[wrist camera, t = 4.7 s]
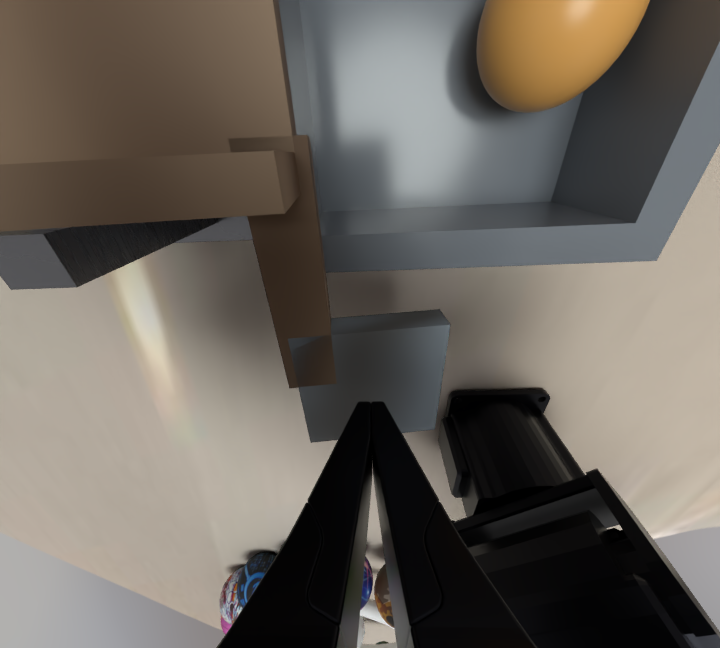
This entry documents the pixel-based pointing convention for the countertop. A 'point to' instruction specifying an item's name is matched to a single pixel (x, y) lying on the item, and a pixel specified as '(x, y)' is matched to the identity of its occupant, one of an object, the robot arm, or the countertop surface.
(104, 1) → the tipping lever
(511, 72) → the ball
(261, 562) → the decorated egg ring holder
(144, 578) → the countertop surface
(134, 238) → the lever stand
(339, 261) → the grey open tray
